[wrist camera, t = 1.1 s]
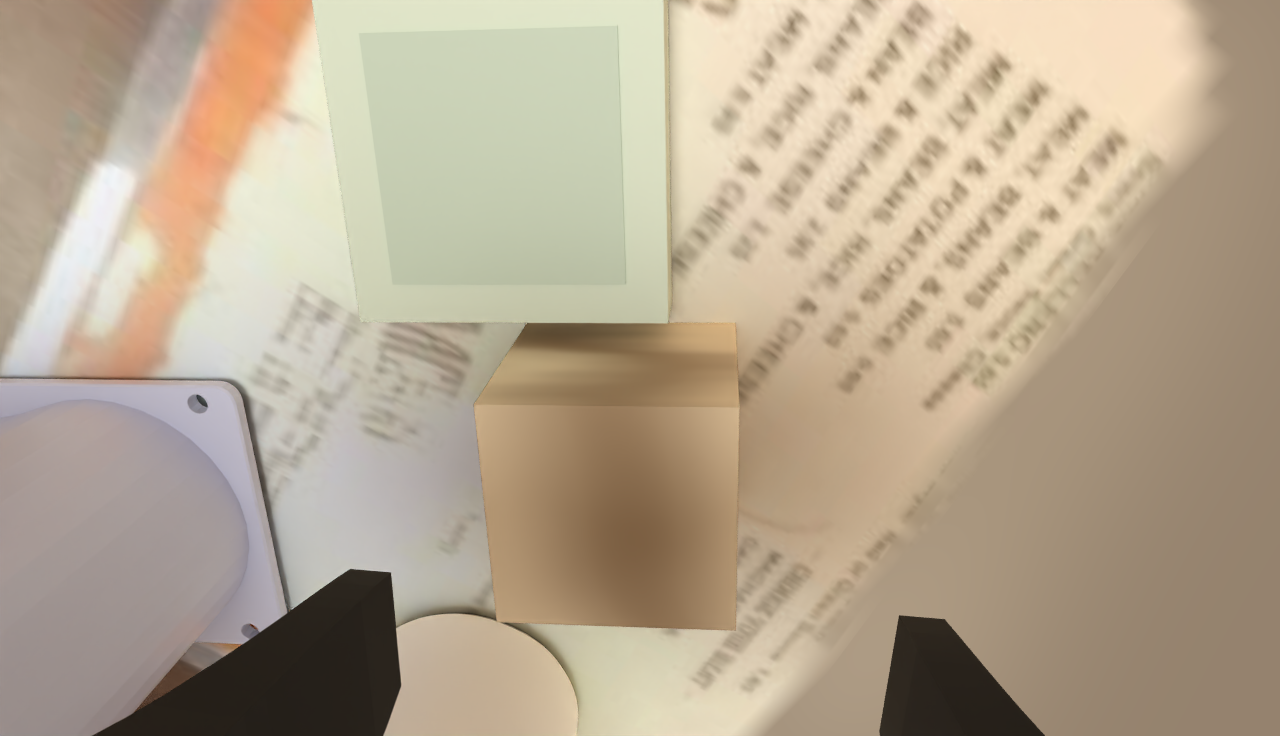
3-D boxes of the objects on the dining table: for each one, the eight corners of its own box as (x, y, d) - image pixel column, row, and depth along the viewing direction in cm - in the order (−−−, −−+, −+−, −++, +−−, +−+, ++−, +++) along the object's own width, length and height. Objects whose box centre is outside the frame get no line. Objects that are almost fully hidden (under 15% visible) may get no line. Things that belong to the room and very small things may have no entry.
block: (542, 501, 23) (496, 621, 18) (528, 321, 21) (473, 404, 16) (733, 505, 22) (735, 630, 18) (735, 321, 21) (739, 407, 16)
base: (384, 302, 21) (359, 322, 20) (340, -12, 18) (307, -15, 17) (672, 303, 20) (667, 324, 19) (668, -22, 18) (662, -27, 16)
